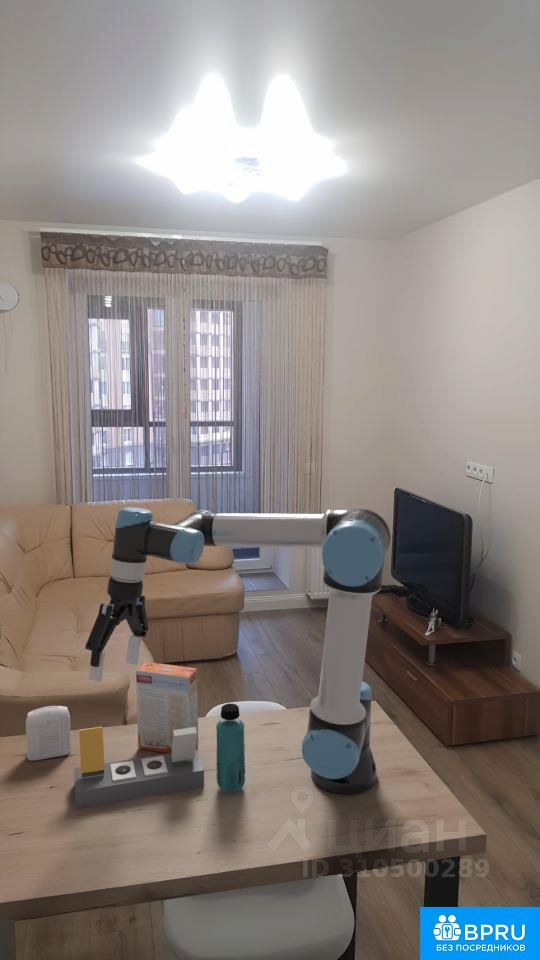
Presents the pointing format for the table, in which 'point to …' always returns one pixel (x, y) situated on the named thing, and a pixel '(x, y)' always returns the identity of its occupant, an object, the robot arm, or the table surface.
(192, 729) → the block
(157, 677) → the cracker box
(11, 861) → the table surface
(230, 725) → the beverage bottle
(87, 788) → the power strip
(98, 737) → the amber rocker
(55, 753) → the photo printer
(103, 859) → the table surface
